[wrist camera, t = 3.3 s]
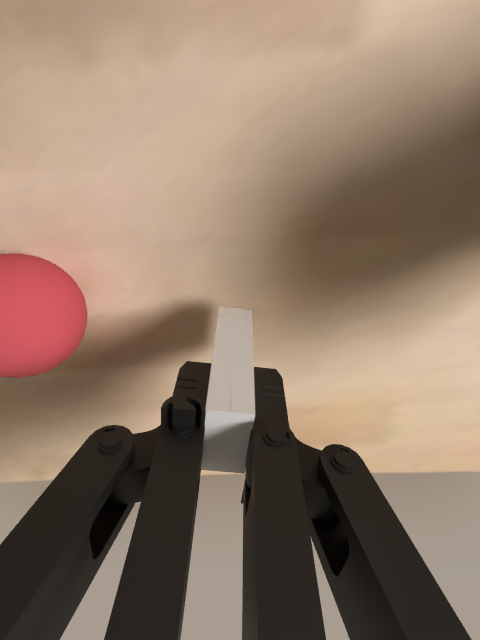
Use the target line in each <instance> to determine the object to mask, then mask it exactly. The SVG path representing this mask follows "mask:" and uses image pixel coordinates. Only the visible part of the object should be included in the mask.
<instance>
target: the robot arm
mask: <svg viewBox="0 0 480 640" xmlns="http://www.w3.org/2000/svg"><path fill="white" fill-rule="evenodd" d="M245 467H246V479H245V484H244V490H243V494H242V500H241V503H243V610H242V611H243V613H242V640H326V636H325V630H324V623H323V616H322V610H321V603H320V597H319V590H318V583H317V577H316V570H315V564H314V558H313V550H312V544H311V538H312V541H313V543H314V546H315V549H316V551H317V554H318V556H319V559H320V562H321V564H322V567H323V570H324V572H325V575H326V578H327V580H328V583H329V585H330V588H331V591H332V593H333V596H334V599H335V601H336V604H337V607H338V609H339V612H340V615H341V617H342V620H343V622H344V625H345V628H346V630H347V633H348V636H349V638H350V640H471V639H470V637H469V635H468V633H467V632H466V630H465V628H464V627H463V625H462V623H461V622H460V620H459V619H458V617H457V615H456V613H455V612H454V610H453V609H452V607H451V605H450V604H449V602H448V601H447V599H446V597H445V595H444V594H443V592H442V590H441V589H440V587H439V585H438V584H437V582H436V581H435V579H434V577H433V575H432V574H431V572H430V571H429V569H428V567H427V566H426V564H425V562H424V561H423V559H422V557H421V556H420V554H419V552H418V551H417V549H416V548H415V546H414V544H413V543H412V541H411V539H410V538H409V536H408V534H407V533H406V531H405V529H404V528H403V526H402V524H401V523H400V521H399V519H398V518H397V516H396V514H395V513H394V511H393V509H392V508H391V506H390V505H389V503H388V501H387V500H386V498H385V496H384V495H383V493H382V492H381V490H380V488H379V486H378V485H377V483H376V481H375V480H374V478H373V477H372V475H371V473H370V471H369V470H368V468H367V467H366V465H365V463H364V462H363V460H362V459H361V457H360V456H359V455H358V454H357V453H356V452H355V451H353V450H352V449H350V448H349V447H346V446H343V445H338V444H332V445H329V446H326V447H325V448H324V449H323V450H322V451H321V450H318V449H315V448H313V447H310V446H308V445H306V444H303V443H302V442H300V441H299V440H298V439H297V438H296V437H295V436H294V434H293V432H292V431H291V430H290V427H289V422H288V415H287V408H286V401H285V394H284V387H283V379H282V377H281V376H280V374H279V373H278V371H277V370H276V369H269V368H259V367H254V359H253V328H252V310H245V309H236V308H226V307H219V314H218V321H217V328H216V336H215V343H214V350H213V357H212V364H211V363H201V362H191V361H187V362H186V363H185V364H184V365H183V366H182V367H181V368H180V369H179V373H178V377H177V381H176V385H175V389H174V392H173V396H172V397H170V398H169V399H167V400H166V401H165V402H164V403H163V405H162V407H161V425H160V426H159V427H157V428H155V429H153V430H151V431H147V432H143V433H137V434H132V433H131V431H130V430H129V429H127V428H125V427H123V426H118V425H111V426H105V427H103V428H100V429H98V430H96V431H95V432H94V433H93V434H92V435H90V436H89V438H88V439H87V440H86V441H85V442H84V444H83V445H82V446H81V447H80V449H79V450H78V451H77V452H76V453H75V455H74V456H73V457H72V458H71V459H70V461H69V462H68V463H67V464H66V466H65V467H64V468H63V469H62V470H61V472H60V473H59V474H58V475H57V477H56V478H55V479H54V480H53V481H52V483H51V484H50V485H49V486H48V487H47V489H46V490H45V491H44V492H43V494H42V495H41V496H40V497H39V498H38V500H37V501H36V502H35V503H34V505H33V506H32V507H31V508H30V509H29V511H28V512H27V513H26V514H25V515H24V517H23V518H22V519H21V520H20V521H19V523H18V524H17V525H16V526H15V528H14V529H13V530H12V531H11V532H10V534H9V535H8V536H7V537H6V539H5V540H4V541H3V542H2V543H1V545H0V640H60V638H61V636H62V634H63V633H64V631H65V629H66V627H67V625H68V624H69V622H70V620H71V618H72V616H73V615H74V613H75V611H76V609H77V607H78V606H79V604H80V602H81V600H82V598H83V597H84V594H85V593H86V591H87V589H88V588H89V586H90V584H91V582H92V580H93V579H94V577H95V574H96V573H97V571H98V569H99V568H100V566H101V564H102V562H103V560H104V559H105V557H106V555H107V553H108V551H109V550H110V548H111V546H112V544H113V542H114V540H115V539H116V537H117V535H118V533H119V532H120V530H121V528H122V526H123V524H124V522H125V520H126V519H127V517H128V515H129V514H130V512H131V510H132V508H133V506H134V504H135V503H136V502H140V501H141V504H140V508H139V512H138V516H137V519H136V523H135V527H134V530H133V534H132V538H131V542H130V545H129V549H128V553H127V556H126V560H125V564H124V568H123V572H122V575H121V579H120V583H119V586H118V590H117V594H116V597H115V601H114V605H113V609H112V612H111V616H110V620H109V624H108V627H107V631H106V635H105V639H104V640H180V638H181V630H182V622H183V613H184V606H185V597H186V590H187V581H188V572H189V565H190V556H191V549H192V541H193V532H194V524H195V516H196V508H197V500H198V491H199V482H200V473H201V470H211V471H223V472H234V473H245ZM310 536H311V537H310Z"/></svg>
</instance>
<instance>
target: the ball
mask: <svg viewBox="0 0 480 640" xmlns="http://www.w3.org/2000/svg"><path fill="white" fill-rule="evenodd" d="M86 326H87V307H86V302H85V299H84V296H83V294H82V292H81V290H80V288H79V287H78V285H77V284H76V282H75V281H74V280H73V279H72V278H71V277H70V276H69V275H68V274H67V273H66V272H65V271H64V270H63V269H61V268H60V267H58V266H57V265H55V264H53V263H51V262H49V261H47V260H45V259H42V258H39V257H35V256H31V255H25V254H2V255H0V376H1V377H15V378H18V377H28V376H33V375H37V374H40V373H43V372H46V371H48V370H51V369H53V368H54V367H56V366H58V365H59V364H61V363H62V362H64V361H65V360H66V359H67V358H68V357H69V356H70V355H71V354H72V353H73V352H74V351H75V350H76V348H77V347H78V346H79V344H80V342H81V340H82V338H83V336H84V333H85V329H86Z"/></svg>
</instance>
